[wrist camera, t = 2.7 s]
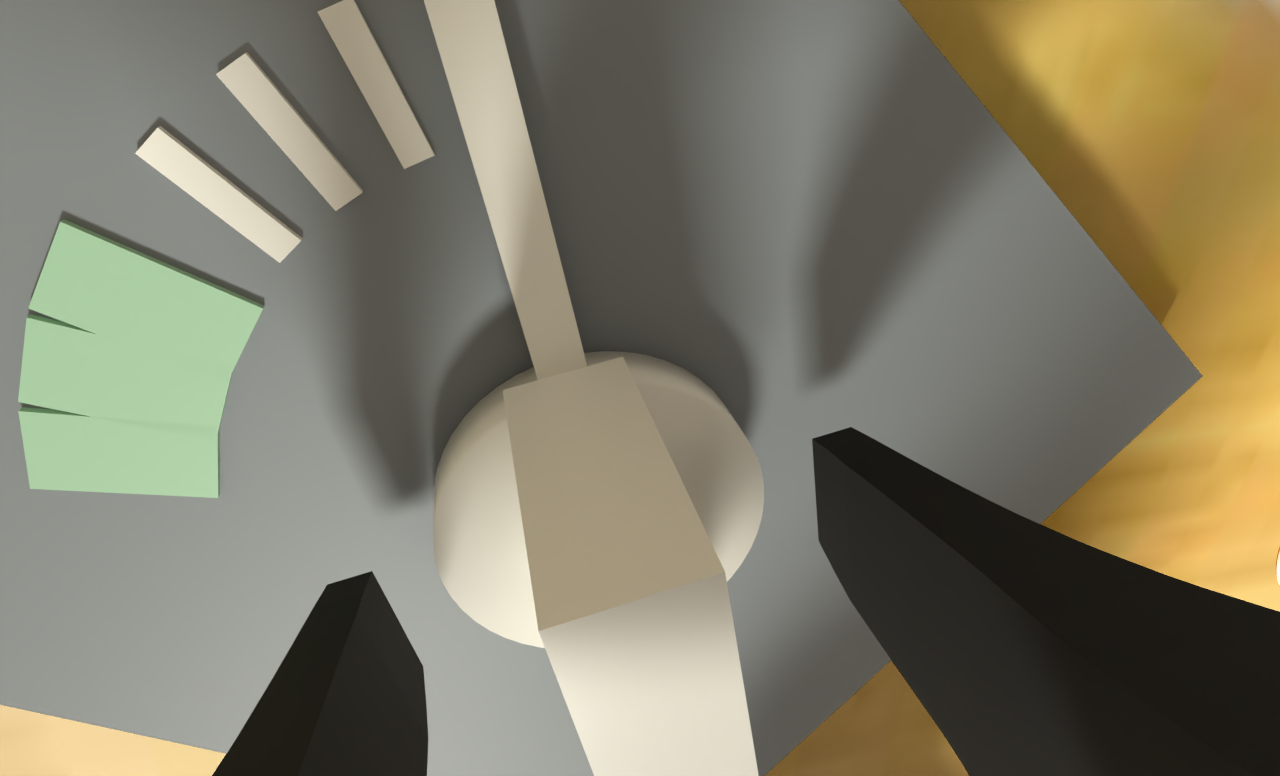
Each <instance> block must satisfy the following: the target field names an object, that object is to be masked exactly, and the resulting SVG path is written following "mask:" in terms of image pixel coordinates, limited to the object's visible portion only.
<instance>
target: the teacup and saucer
mask: <svg viewBox="0 0 1280 776" xmlns="http://www.w3.org/2000/svg"><path fill="white" fill-rule="evenodd" d="M1276 575H1277V580H1278V584H1279V586H1280V550H1279V554H1278V558H1277V565H1276Z"/></svg>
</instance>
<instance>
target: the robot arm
mask: <svg viewBox="0 0 1280 776" xmlns="http://www.w3.org/2000/svg"><path fill="white" fill-rule="evenodd" d="M812 445H813V461H814V477H815V492H816V508H817V524H818V539H819V543H820V545H821V547H822V549H823V550H824V552H825V554H826V556H827V558H828V560H829V562H830V564H831V566H832V568H833V570H834V572H835V574H836V576H837V577H838V579H839V581H840V583H841V585H842V587H843V588H844V590H845V592H846V594H847V596H848V598H849V599H850V601H851V602H852V604H853V605H854V607H855V608H856V610H857V611H858V613H859V614H860V616H861V617H862V619H863V620H864V621H865V623H866V624H867V626H868V627H869V629H870V630H871V632H872V633H873V634H874V636H875V637H876V639H877V640H878V642H879V643H880V645H881V646H882V647H883V649H884V650H885V652H886V653H887V655H888V656H889V657H890V659H891V660H892V662H893V663H894V665H895V666H896V667H897V669H898V670H899V672H900V673H901V674H902V676H903V677H904V679H905V680H906V682H907V683H908V684H909V686H910V687H911V689H912V690H913V692H914V693H915V694H916V696H917V697H918V699H919V700H920V702H921V703H922V704H923V706H924V707H925V709H926V710H927V712H928V713H929V714H930V716H931V717H932V719H933V720H934V721H935V723H936V724H937V726H938V727H939V729H940V730H941V731H942V733H943V734H944V736H945V738H946V739H947V741H948V742H949V744H950V745H951V747H952V748H953V750H954V751H955V753H956V755H957V756H958V758H959V759H960V761H961V762H962V764H963V766H964V767H965V769H966V771H967V772H968V774H969V776H1280V612H1278V611H1275V610H1272V609H1268V608H1265V607H1262V606H1259V605H1256V604H1253V603H1249V602H1246V601H1243V600H1240V599H1237V598H1234V597H1230V596H1227V595H1224V594H1221V593H1218V592H1214V591H1211V590H1208V589H1205V588H1202V587H1199V586H1196V585H1193V584H1190V583H1187V582H1184V581H1182V580H1179V579H1176V578H1173V577H1170V576H1167V575H1164V574H1161V573H1159V572H1156V571H1154V570H1151V569H1148V568H1146V567H1143V566H1140V565H1138V564H1135V563H1133V562H1130V561H1127V560H1125V559H1122V558H1119V557H1117V556H1114V555H1111V554H1109V553H1106V552H1104V551H1101V550H1099V549H1096V548H1094V547H1091V546H1089V545H1086V544H1084V543H1082V542H1079V541H1077V540H1074V539H1072V538H1070V537H1067V536H1065V535H1063V534H1061V533H1058V532H1056V531H1054V530H1052V529H1050V528H1047V527H1045V526H1043V525H1041V524H1038V523H1036V522H1034V521H1032V520H1030V519H1027V518H1025V517H1023V516H1021V515H1019V514H1016V513H1014V512H1012V511H1010V510H1008V509H1006V508H1004V507H1002V506H1000V505H998V504H996V503H994V502H992V501H990V500H988V499H986V498H984V497H982V496H980V495H978V494H976V493H974V492H972V491H970V490H968V489H966V488H964V487H962V486H960V485H958V484H956V483H954V482H952V481H950V480H949V479H947V478H945V477H943V476H941V475H939V474H937V473H935V472H933V471H932V470H930V469H928V468H926V467H924V466H922V465H920V464H919V463H917V462H915V461H913V460H911V459H909V458H908V457H906V456H904V455H902V454H900V453H898V452H897V451H895V450H893V449H891V448H889V447H888V446H886V445H884V444H882V443H880V442H878V441H877V440H875V439H873V438H871V437H869V436H867V435H866V434H864V433H862V432H860V431H858V430H856V429H854V428H852V427H849V428H846V429H843V430H839V431H836V432H833V433H830V434H826V435H823V436H820V437H816V438H813V439H812ZM427 763H428V723H427V706H426V694H425V682H424V669H423V665H422V663H421V661H420V659H419V658H418V656H417V654H416V652H415V650H414V648H413V646H412V645H411V643H410V641H409V639H408V637H407V635H406V633H405V631H404V630H403V628H402V626H401V624H400V622H399V620H398V618H397V617H396V615H395V613H394V611H393V609H392V607H391V605H390V603H389V602H388V600H387V598H386V596H385V594H384V592H383V590H382V589H381V587H380V585H379V583H378V581H377V579H376V577H375V575H374V574H373V572H372V571H371V572H367V573H364V574H361V575H357V576H354V577H351V578H347V579H344V580H341V581H337V582H334V583H331V584H327V586H326V587H325V589H324V591H323V592H322V594H321V596H320V597H319V599H318V601H317V602H316V604H315V606H314V607H313V609H312V611H311V612H310V614H309V616H308V618H307V619H306V621H305V623H304V624H303V626H302V628H301V630H300V631H299V633H298V635H297V637H296V638H295V640H294V642H293V644H292V645H291V647H290V649H289V651H288V652H287V654H286V656H285V658H284V659H283V661H282V663H281V664H280V666H279V668H278V670H277V671H276V673H275V675H274V677H273V678H272V680H271V682H270V683H269V685H268V687H267V688H266V690H265V692H264V693H263V695H262V697H261V698H260V700H259V702H258V703H257V705H256V707H255V708H254V710H253V712H252V713H251V715H250V717H249V718H248V720H247V722H246V723H245V725H244V726H243V728H242V730H241V731H240V733H239V735H238V736H237V738H236V740H235V741H234V743H233V744H232V746H231V748H230V749H229V751H228V752H227V754H226V755H225V757H224V758H223V760H222V762H221V763H220V765H219V766H218V768H217V769H216V771H215V772H214V774H213V775H212V776H427Z"/></svg>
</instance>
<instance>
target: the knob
mask: <svg viewBox="0 0 1280 776" xmlns="http://www.w3.org/2000/svg"><path fill="white" fill-rule="evenodd" d="M424 3H425V6H426V10H427V13H428V16H429V20H430V23H431V26H432V30H433V33H434V36H435V40H436V43H437V46H438V50H439V53H440V56H441V60H442V63H443V66H444V70H445V73H446V76H447V80H448V83H449V86H450V90H451V93H452V96H453V100H454V103H455V106H456V109H457V113H458V116H459V119H460V123H461V126H462V129H463V133H464V136H465V139H466V143H467V146H468V149H469V153H470V156H471V159H472V163H473V166H474V169H475V173H476V176H477V179H478V183H479V186H480V189H481V193H482V196H483V199H484V203H485V206H486V209H487V213H488V216H489V219H490V223H491V226H492V229H493V233H494V236H495V239H496V243H497V246H498V249H499V252H500V256H501V259H502V262H503V266H504V269H505V272H506V276H507V279H508V282H509V286H510V289H511V292H512V296H513V299H514V302H515V306H516V309H517V312H518V316H519V319H520V322H521V326H522V329H523V332H524V336H525V339H526V342H527V346H528V349H529V352H530V356H531V359H532V362H533V366H534V367H532V368H530V369H528V370H526V371H524V372H522V373H519V374H517V375H515V376H514V377H512V378H511V379H509V380H507V381H506V382H504V383H503V384H501V385H499V386H498V387H496V388H495V389H494V390H493V391H491V392H490V393H489V394H488V395H486V396H485V397H484V398H483V399H482V400H480V401H479V402H478V403H477V404H476V405H475V406H474V407H473V408H472V409H471V411H470V412H469V413H468V414H467V415H466V416H465V417H464V418H463V420H462V421H461V422H460V424H459V425H458V426H457V428H456V429H455V431H454V432H453V433H452V435H451V437H450V439H449V441H448V443H447V445H446V447H445V448H444V450H443V453H442V456H441V459H440V462H439V464H438V467H437V472H436V477H435V483H434V514H433V550H434V556H435V562H436V566H437V569H438V572H439V575H440V577H441V580H442V582H443V584H444V586H445V588H446V589H447V591H448V593H449V594H450V596H451V597H452V599H453V600H454V601H455V602H456V603H457V605H458V606H459V607H460V608H461V609H462V610H463V611H464V612H465V613H466V614H467V615H468V616H470V617H471V618H472V619H473V620H474V621H476V622H477V623H479V624H480V625H482V626H483V627H485V628H486V629H488V630H489V631H492V632H494V633H496V634H498V635H500V636H502V637H504V638H507V639H510V640H513V641H516V642H519V643H522V644H526V645H531V646H535V647H540V648H545V649H546V652H547V655H548V657H549V660H550V662H551V665H552V668H553V670H554V673H555V675H556V678H557V681H558V683H559V686H560V688H561V691H562V694H563V696H564V699H565V701H566V704H567V707H568V709H569V712H570V714H571V717H572V720H573V722H574V725H575V727H576V730H577V733H578V735H579V738H580V740H581V743H582V746H583V748H584V751H585V753H586V756H587V759H588V761H589V764H590V766H591V769H592V772H593V774H594V776H759V775H758V769H757V763H756V756H755V750H754V744H753V738H752V732H751V726H750V720H749V714H748V708H747V702H746V696H745V690H744V683H743V677H742V671H741V665H740V659H739V653H738V647H737V641H736V635H735V629H734V623H733V616H732V610H731V604H730V598H729V592H728V586H727V582H728V580H729V579H730V578H731V577H732V576H733V575H734V573H735V572H736V571H737V569H738V568H739V567H740V565H741V564H742V562H743V561H744V559H745V557H746V556H747V554H748V552H749V550H750V549H751V547H752V544H753V542H754V540H755V537H756V535H757V533H758V529H759V526H760V522H761V519H762V514H763V506H764V482H763V476H762V471H761V467H760V464H759V461H758V459H757V456H756V454H755V451H754V450H753V448H752V446H751V445H750V443H749V441H748V439H747V438H746V436H745V435H744V433H743V432H742V430H741V429H740V427H739V426H738V424H737V423H736V421H735V420H734V418H733V416H732V415H731V413H730V412H729V410H728V409H727V407H726V406H725V404H724V403H723V402H722V400H721V399H720V398H719V397H718V396H717V394H716V393H715V392H714V391H713V390H712V389H711V388H710V387H709V386H708V385H706V384H705V383H704V382H703V381H702V380H701V379H699V378H698V377H696V376H695V375H693V374H692V373H690V372H688V371H687V370H685V369H684V368H682V367H679V366H677V365H675V364H672V363H670V362H668V361H666V360H662V359H659V358H655V357H652V356H648V355H644V354H637V353H630V352H617V351H599V352H589V353H584V351H583V347H582V343H581V339H580V335H579V331H578V327H577V323H576V319H575V316H574V312H573V308H572V304H571V300H570V296H569V292H568V288H567V284H566V280H565V276H564V272H563V268H562V264H561V260H560V257H559V253H558V249H557V245H556V241H555V237H554V233H553V229H552V225H551V221H550V217H549V213H548V209H547V205H546V201H545V198H544V194H543V190H542V186H541V182H540V178H539V174H538V170H537V166H536V162H535V158H534V154H533V150H532V146H531V142H530V139H529V135H528V131H527V127H526V123H525V119H524V115H523V111H522V107H521V103H520V99H519V95H518V91H517V87H516V83H515V80H514V76H513V72H512V68H511V64H510V60H509V56H508V52H507V48H506V44H505V40H504V36H503V32H502V28H501V24H500V21H499V17H498V13H497V9H496V5H495V1H494V0H424Z"/></svg>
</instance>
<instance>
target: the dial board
mask: <svg viewBox="0 0 1280 776" xmlns="http://www.w3.org/2000/svg"><path fill="white" fill-rule="evenodd" d="M494 1H495V5H496V9H497V13H498V17H499V21H500V24H501V28H502V32H503V36H504V40H505V44H506V48H507V52H508V56H509V60H510V64H511V68H512V72H513V76H514V80H515V83H516V87H517V91H518V95H519V99H520V103H521V107H522V111H523V115H524V119H525V123H526V127H527V131H528V135H529V139H530V142H531V146H532V150H533V154H534V158H535V162H536V166H537V170H538V174H539V178H540V182H541V186H542V190H543V194H544V198H545V201H546V205H547V209H548V213H549V217H550V221H551V225H552V229H553V233H554V237H555V241H556V245H557V249H558V253H559V257H560V260H561V264H562V268H563V272H564V276H565V280H566V284H567V288H568V292H569V296H570V300H571V304H572V308H573V312H574V316H575V319H576V323H577V327H578V331H579V335H580V339H581V343H582V347H583V351H584V353H589V352H599V351H617V352H630V353H637V354H644V355H648V356H652V357H655V358H659V359H662V360H666V361H668V362H670V363H672V364H675V365H677V366H679V367H682V368H684V369H685V370H687V371H688V372H690V373H692V374H693V375H695V376H696V377H698V378H699V379H701V380H702V381H703V382H704V383H705V384H706V385H708V386H709V387H710V388H711V389H712V390H713V391H714V392H715V393H716V394H717V396H718V397H719V398H720V399H721V400H722V402H723V403H724V404H725V406H726V407H727V409H728V410H729V412H730V413H731V415H732V416H733V418H734V420H735V421H736V423H737V424H738V426H739V427H740V429H741V430H742V432H743V433H744V435H745V436H746V438H747V439H748V441H749V443H750V445H751V446H752V448H753V450H754V451H755V454H756V456H757V459H758V461H759V464H760V467H761V471H762V476H763V482H764V506H763V514H762V519H761V522H760V526H759V529H758V533H757V535H756V537H755V540H754V542H753V544H752V547H751V549H750V550H749V552H748V554H747V556H746V557H745V559H744V561H743V562H742V564H741V565H740V567H739V568H738V569H737V571H736V572H735V573H734V575H733V576H732V577H731V578H730V579H729V580H728V582H727V586H728V592H729V598H730V604H731V610H732V616H733V623H734V629H735V635H736V641H737V647H738V653H739V659H740V665H741V671H742V677H743V683H744V690H745V696H746V702H747V708H748V714H749V720H750V726H751V732H752V738H753V744H754V750H755V756H756V763H757V769H758V775H759V776H765V775H766V774H767V773H768V772H769V771H770V770H771V769H772V768H773V767H774V766H776V765H777V764H778V763H779V762H780V761H781V760H782V759H783V758H784V757H785V756H787V755H788V754H789V753H790V752H791V751H792V750H793V749H794V748H795V747H796V746H798V745H799V744H800V743H801V742H802V741H803V740H804V739H805V738H806V737H807V736H808V735H810V734H811V733H812V732H813V731H814V730H815V729H816V728H817V727H818V726H819V725H821V724H822V723H823V722H824V721H825V720H826V719H827V718H828V717H829V716H830V715H832V714H833V713H834V712H835V711H836V710H837V709H838V708H839V707H840V706H841V705H842V704H844V703H845V702H846V701H847V700H848V699H849V698H850V697H851V696H852V695H853V694H855V693H856V692H857V691H858V690H859V689H860V688H861V687H862V686H863V685H864V684H866V683H867V682H868V681H869V680H870V679H871V678H872V677H873V676H874V675H875V674H876V673H878V672H879V671H880V670H881V669H882V668H883V667H884V666H885V665H886V664H887V663H889V662H890V661H891V659H890V657H889V656H888V655H887V653H886V652H885V650H884V649H883V647H882V646H881V645H880V643H879V642H878V640H877V639H876V637H875V636H874V634H873V633H872V632H871V630H870V629H869V627H868V626H867V624H866V623H865V621H864V620H863V619H862V617H861V616H860V614H859V613H858V611H857V610H856V608H855V607H854V605H853V604H852V602H851V601H850V599H849V598H848V596H847V594H846V592H845V590H844V588H843V587H842V585H841V583H840V581H839V579H838V577H837V576H836V574H835V572H834V570H833V568H832V566H831V564H830V562H829V560H828V558H827V556H826V554H825V552H824V550H823V549H822V547H821V545H820V543H819V539H818V524H817V508H816V492H815V477H814V461H813V445H812V439H813V438H816V437H820V436H823V435H826V434H830V433H833V432H836V431H839V430H843V429H846V428H849V427H852V428H854V429H856V430H858V431H860V432H862V433H864V434H866V435H867V436H869V437H871V438H873V439H875V440H877V441H878V442H880V443H882V444H884V445H886V446H888V447H889V448H891V449H893V450H895V451H897V452H898V453H900V454H902V455H904V456H906V457H908V458H909V459H911V460H913V461H915V462H917V463H919V464H920V465H922V466H924V467H926V468H928V469H930V470H932V471H933V472H935V473H937V474H939V475H941V476H943V477H945V478H947V479H949V480H950V481H952V482H954V483H956V484H958V485H960V486H962V487H964V488H966V489H968V490H970V491H972V492H974V493H976V494H978V495H980V496H982V497H984V498H986V499H988V500H990V501H992V502H994V503H996V504H998V505H1000V506H1002V507H1004V508H1006V509H1008V510H1010V511H1012V512H1014V513H1016V514H1019V515H1021V516H1023V517H1025V518H1027V519H1030V520H1032V521H1034V522H1036V523H1038V524H1041V523H1042V522H1043V521H1044V520H1045V519H1046V518H1048V517H1049V516H1050V515H1051V514H1052V513H1053V512H1054V511H1055V510H1056V509H1057V508H1059V507H1060V506H1061V505H1062V504H1063V503H1064V502H1065V501H1066V500H1067V499H1068V498H1069V497H1071V496H1072V495H1073V494H1074V493H1075V492H1076V491H1077V490H1078V489H1079V488H1080V487H1082V486H1083V485H1084V484H1085V483H1086V482H1087V481H1088V480H1089V479H1090V478H1091V477H1093V476H1094V475H1095V474H1096V473H1097V472H1098V471H1099V470H1100V469H1101V468H1102V467H1103V466H1105V465H1106V464H1107V463H1108V462H1109V461H1110V460H1111V459H1112V458H1113V457H1114V456H1116V455H1117V454H1118V453H1119V452H1120V451H1121V450H1122V449H1123V448H1124V447H1125V446H1127V445H1128V444H1129V443H1130V442H1131V441H1132V440H1133V439H1134V438H1135V437H1136V436H1137V435H1139V434H1140V433H1141V432H1142V431H1143V430H1144V429H1145V428H1146V427H1147V426H1148V425H1150V424H1151V423H1152V422H1153V421H1154V420H1155V419H1156V418H1157V417H1158V416H1159V415H1161V414H1162V413H1163V412H1164V411H1165V410H1166V409H1167V408H1168V407H1169V406H1170V405H1171V404H1173V403H1174V402H1175V401H1176V400H1177V399H1178V398H1179V397H1180V396H1181V395H1182V394H1184V393H1185V392H1186V391H1187V390H1188V389H1189V388H1190V387H1191V386H1192V385H1193V384H1195V383H1196V382H1197V381H1198V380H1199V379H1200V378H1201V377H1202V375H1201V373H1200V372H1199V371H1198V370H1197V368H1196V367H1195V366H1194V365H1193V364H1192V362H1191V361H1190V360H1189V359H1188V357H1187V356H1186V355H1185V354H1184V352H1183V351H1182V350H1181V349H1180V347H1179V346H1178V345H1177V344H1176V343H1175V341H1174V340H1173V339H1172V338H1171V336H1170V335H1169V334H1168V333H1167V331H1166V330H1165V329H1164V328H1163V326H1162V325H1161V324H1160V323H1159V322H1158V320H1157V319H1156V318H1155V317H1154V315H1153V314H1152V313H1151V312H1150V310H1149V309H1148V308H1147V307H1146V305H1145V304H1144V303H1143V302H1142V300H1141V299H1140V298H1139V297H1138V296H1137V294H1136V293H1135V292H1134V291H1133V289H1132V288H1131V287H1130V286H1129V284H1128V283H1127V282H1126V281H1125V279H1124V278H1123V277H1122V276H1121V275H1120V273H1119V272H1118V271H1117V270H1116V268H1115V267H1114V266H1113V265H1112V263H1111V262H1110V261H1109V260H1108V258H1107V257H1106V256H1105V255H1104V254H1103V252H1102V251H1101V250H1100V249H1099V247H1098V246H1097V245H1096V244H1095V242H1094V241H1093V240H1092V239H1091V237H1090V236H1089V235H1088V234H1087V233H1086V231H1085V230H1084V229H1083V228H1082V226H1081V225H1080V224H1079V223H1078V221H1077V220H1076V219H1075V218H1074V216H1073V215H1072V214H1071V213H1070V211H1069V210H1068V209H1067V208H1066V207H1065V205H1064V204H1063V203H1062V202H1061V200H1060V199H1059V198H1058V197H1057V195H1056V194H1055V193H1054V192H1053V190H1052V189H1051V188H1050V187H1049V186H1048V184H1047V183H1046V182H1045V181H1044V179H1043V178H1042V177H1041V176H1040V174H1039V173H1038V172H1037V171H1036V169H1035V168H1034V167H1033V166H1032V165H1031V163H1030V162H1029V161H1028V160H1027V158H1026V157H1025V156H1024V155H1023V153H1022V152H1021V151H1020V150H1019V148H1018V147H1017V146H1016V145H1015V144H1014V142H1013V141H1012V140H1011V139H1010V137H1009V136H1008V135H1007V134H1006V132H1005V131H1004V130H1003V129H1002V127H1001V126H1000V125H999V124H998V123H997V121H996V120H995V119H994V118H993V116H992V115H991V114H990V113H989V111H988V110H987V109H986V108H985V106H984V105H983V104H982V103H981V101H980V100H979V99H978V98H977V97H976V95H975V94H974V93H973V92H972V90H971V89H970V88H969V87H968V85H967V84H966V83H965V82H964V80H963V79H962V78H961V77H960V76H959V74H958V73H957V72H956V71H955V69H954V68H953V67H952V66H951V64H950V63H949V62H948V61H947V59H946V58H945V57H944V56H943V55H942V53H941V52H940V51H939V50H938V48H937V47H936V46H935V45H934V43H933V42H932V41H931V40H930V38H929V37H928V36H927V35H926V34H925V32H924V31H923V30H922V29H921V27H920V26H919V25H918V24H917V22H916V21H915V20H914V19H913V17H912V16H911V15H910V14H909V12H908V11H907V10H906V9H905V8H904V6H903V5H902V4H901V3H900V1H899V0H494ZM532 367H534V366H533V362H532V359H531V356H530V352H529V349H528V346H527V342H526V339H525V336H524V332H523V329H522V326H521V322H520V319H519V316H518V312H517V309H516V306H515V302H514V299H513V296H512V292H511V289H510V286H509V282H508V279H507V276H506V272H505V269H504V266H503V262H502V259H501V256H500V252H499V249H498V246H497V243H496V239H495V236H494V233H493V229H492V226H491V223H490V219H489V216H488V213H487V209H486V206H485V203H484V199H483V196H482V193H481V189H480V186H479V183H478V179H477V176H476V173H475V169H474V166H473V163H472V159H471V156H470V153H469V149H468V146H467V143H466V139H465V136H464V133H463V129H462V126H461V123H460V119H459V116H458V113H457V109H456V106H455V103H454V100H453V96H452V93H451V90H450V86H449V83H448V80H447V76H446V73H445V70H444V66H443V63H442V60H441V56H440V53H439V50H438V46H437V43H436V40H435V36H434V33H433V30H432V26H431V23H430V20H429V16H428V13H427V10H426V6H425V3H424V0H0V705H4V706H9V707H14V708H18V709H23V710H27V711H32V712H37V713H41V714H46V715H51V716H55V717H60V718H64V719H69V720H74V721H78V722H83V723H88V724H92V725H97V726H101V727H106V728H111V729H115V730H120V731H124V732H129V733H134V734H138V735H143V736H148V737H152V738H157V739H161V740H166V741H171V742H175V743H180V744H185V745H189V746H194V747H198V748H203V749H208V750H212V751H217V752H222V753H226V754H227V752H228V751H229V749H230V748H231V746H232V744H233V743H234V741H235V740H236V738H237V736H238V735H239V733H240V731H241V730H242V728H243V726H244V725H245V723H246V722H247V720H248V718H249V717H250V715H251V713H252V712H253V710H254V708H255V707H256V705H257V703H258V702H259V700H260V698H261V697H262V695H263V693H264V692H265V690H266V688H267V687H268V685H269V683H270V682H271V680H272V678H273V677H274V675H275V673H276V671H277V670H278V668H279V666H280V664H281V663H282V661H283V659H284V658H285V656H286V654H287V652H288V651H289V649H290V647H291V645H292V644H293V642H294V640H295V638H296V637H297V635H298V633H299V631H300V630H301V628H302V626H303V624H304V623H305V621H306V619H307V618H308V616H309V614H310V612H311V611H312V609H313V607H314V606H315V604H316V602H317V601H318V599H319V597H320V596H321V594H322V592H323V591H324V589H325V587H326V586H327V584H331V583H334V582H337V581H341V580H344V579H347V578H351V577H354V576H357V575H361V574H364V573H367V572H371V571H372V572H373V574H374V575H375V577H376V579H377V581H378V583H379V585H380V587H381V589H382V590H383V592H384V594H385V596H386V598H387V600H388V602H389V603H390V605H391V607H392V609H393V611H394V613H395V615H396V617H397V618H398V620H399V622H400V624H401V626H402V628H403V630H404V631H405V633H406V635H407V637H408V639H409V641H410V643H411V645H412V646H413V648H414V650H415V652H416V654H417V656H418V658H419V659H420V661H421V663H422V665H423V669H424V682H425V694H426V706H427V723H428V763H427V776H594V774H593V772H592V769H591V766H590V764H589V761H588V759H587V756H586V753H585V751H584V748H583V746H582V743H581V740H580V738H579V735H578V733H577V730H576V727H575V725H574V722H573V720H572V717H571V714H570V712H569V709H568V707H567V704H566V701H565V699H564V696H563V694H562V691H561V688H560V686H559V683H558V681H557V678H556V675H555V673H554V670H553V668H552V665H551V662H550V660H549V657H548V655H547V652H546V649H545V648H540V647H535V646H531V645H526V644H522V643H519V642H516V641H513V640H510V639H507V638H504V637H502V636H500V635H498V634H496V633H494V632H492V631H489V630H488V629H486V628H485V627H483V626H482V625H480V624H479V623H477V622H476V621H474V620H473V619H472V618H471V617H470V616H468V615H467V614H466V613H465V612H464V611H463V610H462V609H461V608H460V607H459V606H458V605H457V603H456V602H455V601H454V600H453V599H452V597H451V596H450V594H449V593H448V591H447V589H446V588H445V586H444V584H443V582H442V580H441V577H440V575H439V572H438V569H437V566H436V562H435V556H434V550H433V514H434V483H435V477H436V472H437V467H438V464H439V462H440V459H441V456H442V453H443V450H444V448H445V447H446V445H447V443H448V441H449V439H450V437H451V435H452V433H453V432H454V431H455V429H456V428H457V426H458V425H459V424H460V422H461V421H462V420H463V418H464V417H465V416H466V415H467V414H468V413H469V412H470V411H471V409H472V408H473V407H474V406H475V405H476V404H477V403H478V402H479V401H480V400H482V399H483V398H484V397H485V396H486V395H488V394H489V393H490V392H491V391H493V390H494V389H495V388H496V387H498V386H499V385H501V384H503V383H504V382H506V381H507V380H509V379H511V378H512V377H514V376H515V375H517V374H519V373H522V372H524V371H526V370H528V369H530V368H532Z"/></svg>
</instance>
